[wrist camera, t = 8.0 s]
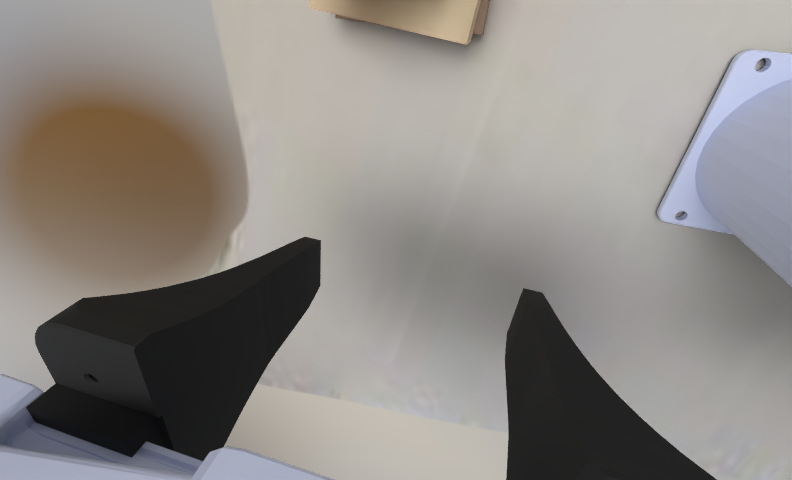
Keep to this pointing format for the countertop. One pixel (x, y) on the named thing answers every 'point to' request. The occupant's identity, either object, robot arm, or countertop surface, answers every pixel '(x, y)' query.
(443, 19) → the tower top
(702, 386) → the countertop surface
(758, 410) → the countertop surface
